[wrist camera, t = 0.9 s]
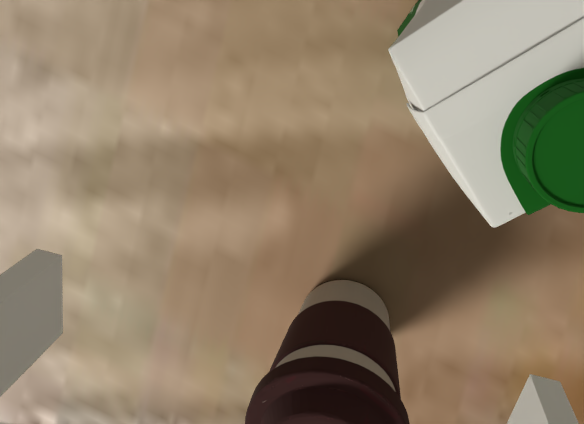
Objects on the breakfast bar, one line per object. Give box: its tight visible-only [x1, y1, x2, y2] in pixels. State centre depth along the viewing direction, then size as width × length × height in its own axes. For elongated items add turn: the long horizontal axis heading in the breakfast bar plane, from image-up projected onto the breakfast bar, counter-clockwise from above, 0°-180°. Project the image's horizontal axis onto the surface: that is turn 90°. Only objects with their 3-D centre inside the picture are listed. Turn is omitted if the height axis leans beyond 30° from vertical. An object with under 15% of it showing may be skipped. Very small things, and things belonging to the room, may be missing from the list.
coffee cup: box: [245, 280, 409, 424], centre depth 36 cm, size 10×10×15 cm
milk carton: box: [389, 0, 584, 228], centre depth 24 cm, size 9×9×20 cm
